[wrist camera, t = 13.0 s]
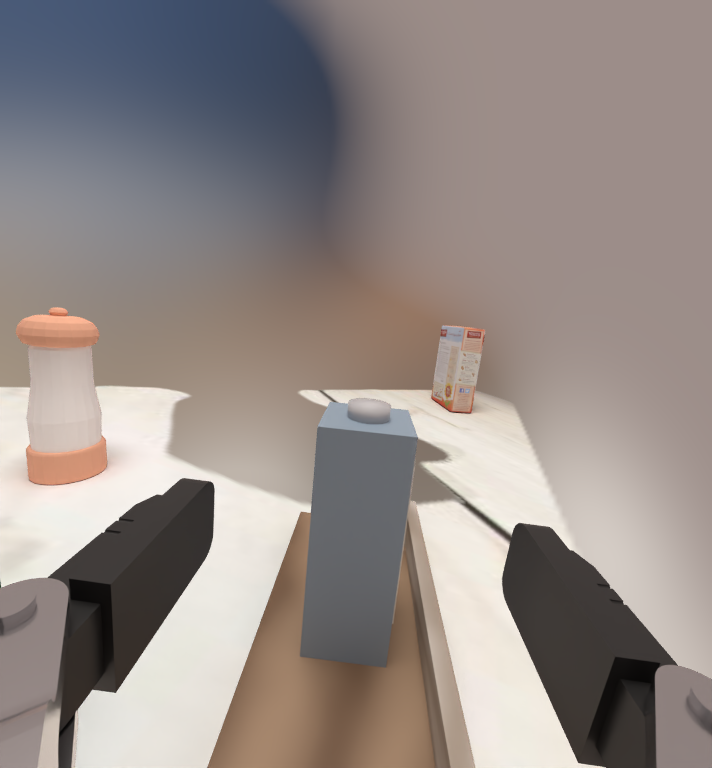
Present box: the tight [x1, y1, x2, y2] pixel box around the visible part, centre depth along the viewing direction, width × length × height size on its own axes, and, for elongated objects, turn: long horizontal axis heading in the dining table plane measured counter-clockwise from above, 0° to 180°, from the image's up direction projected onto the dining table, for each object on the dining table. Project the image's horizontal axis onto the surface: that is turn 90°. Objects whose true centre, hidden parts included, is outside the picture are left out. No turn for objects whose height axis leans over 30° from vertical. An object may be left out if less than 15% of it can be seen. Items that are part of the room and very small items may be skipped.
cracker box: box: [431, 325, 485, 413], centre depth 91 cm, size 14×6×21 cm, turn 8°
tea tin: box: [300, 398, 418, 668], centre depth 21 cm, size 5×5×15 cm
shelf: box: [207, 501, 475, 768], centre depth 22 cm, size 11×26×4 cm, turn 177°
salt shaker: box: [16, 308, 107, 485], centre depth 40 cm, size 7×7×19 cm
